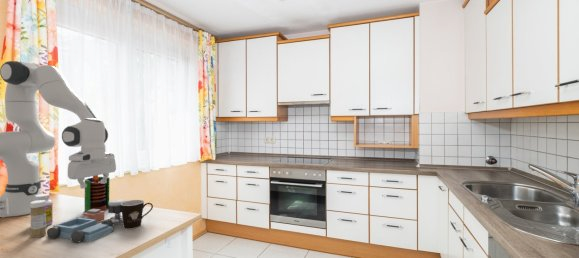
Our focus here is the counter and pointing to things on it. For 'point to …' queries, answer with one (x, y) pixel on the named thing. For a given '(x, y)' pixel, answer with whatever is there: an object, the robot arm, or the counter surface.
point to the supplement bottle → (48, 207)
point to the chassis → (80, 229)
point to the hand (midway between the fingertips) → (94, 185)
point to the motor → (96, 194)
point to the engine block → (95, 214)
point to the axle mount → (117, 218)
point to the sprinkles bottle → (38, 218)
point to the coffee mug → (133, 213)
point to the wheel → (115, 206)
